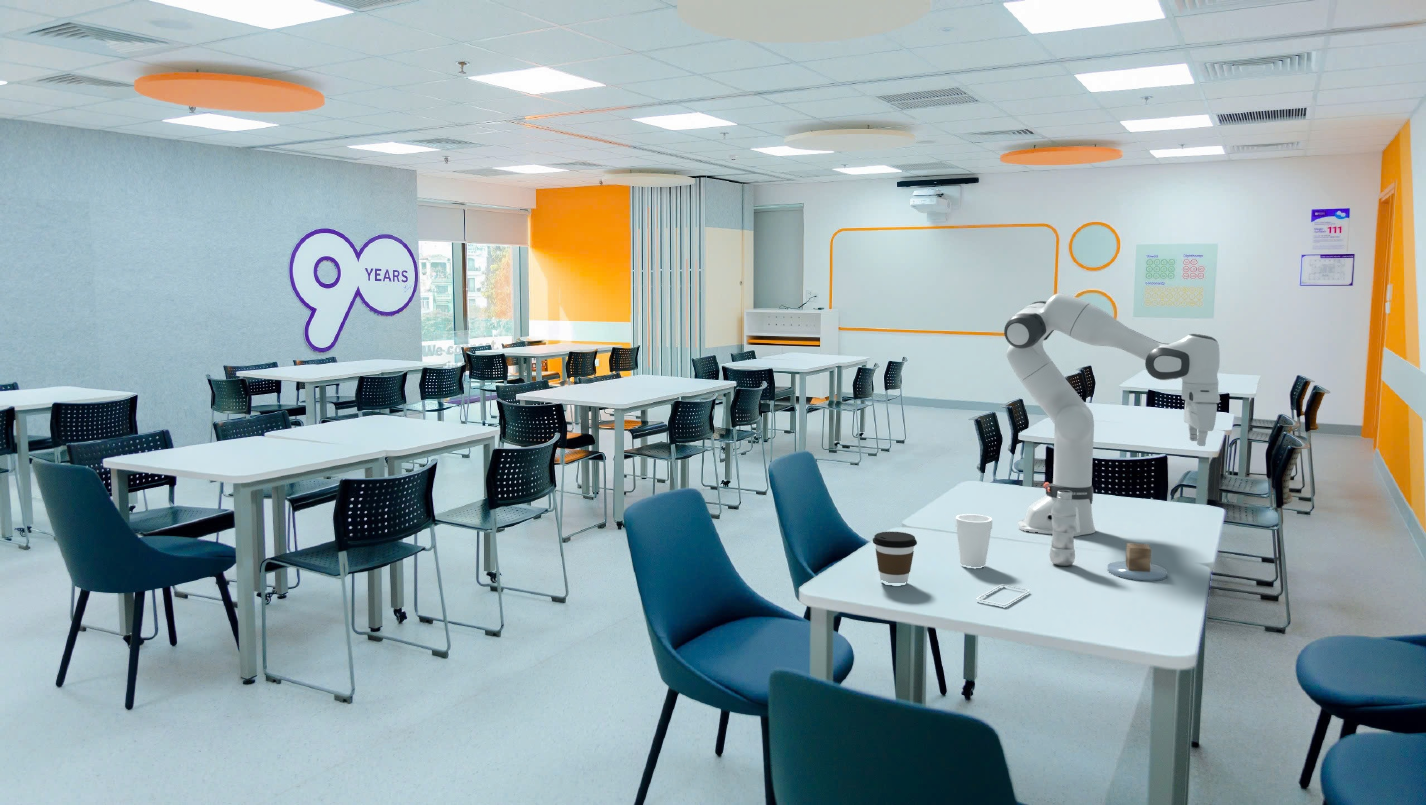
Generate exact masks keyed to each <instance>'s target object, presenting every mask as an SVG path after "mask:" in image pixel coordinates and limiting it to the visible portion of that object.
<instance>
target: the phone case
mask: <svg viewBox="0 0 1426 805" xmlns="http://www.w3.org/2000/svg"><path fill="white" fill-rule="evenodd" d="M1000 586H1008V587H1007V588H1012V589H1016V590H1021V591H1024V592H1023V593H1021V594H1020V595H1018V596H1016V597H1015V598H1012V599H1011V600H1009V601H1008V602H1006V603H999V602H994V601H989V600H986V599H985V600H984V599H981V597H982V598H984V597H985V596H986V594H988V593H990V592H992V591H993V590H995V589H997V588H999V587H1000ZM1025 590H1026V591H1027V592H1025ZM1029 592H1030V589H1027V588H1021V587H1016V586H1012V585H1007V584H999V585H998V586H996V587H994V588H993V589H991V590H989V591H987V592H985V593H983V594H981V595H980V596H978V597H976V598H975V600H981V601H983V602H988V603H994V604H998V605H1002V606H1006V605H1008V604H1010V603H1012V602H1014V601H1015V600H1017V599H1019V598H1021V597H1022V596H1024V595H1025V594H1027V593H1029ZM1030 593H1031V592H1030ZM984 595H985V596H984ZM979 598H980V599H979Z"/></svg>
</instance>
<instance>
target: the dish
mask: <svg viewBox="0 0 1426 805" xmlns="http://www.w3.org/2000/svg"><path fill="white" fill-rule="evenodd" d="M1108 571H1109V572H1108ZM1107 572H1108V573H1109V574H1110V573H1111V574H1110V575H1112V574H1113V576H1115V575H1116V576H1115V577H1117V576H1120V577H1119V578H1121V577H1122V578H1121V579H1125V578H1128V579H1127V580H1131V579H1133V580H1132V581H1138V580H1143V581H1142V582H1157V581H1156V580H1158V581H1163V580H1166V579H1167V577H1168V571H1167V569H1165V568H1164V567H1162V566H1160V565H1156V564H1152V563H1150V572H1144V571H1129V570H1128V568H1127V566H1126V560H1123V561H1122V560H1121V561H1120V560H1119V561H1113V562H1109V563H1108V564H1107Z"/></svg>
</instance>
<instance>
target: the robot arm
mask: <svg viewBox="0 0 1426 805" xmlns="http://www.w3.org/2000/svg"><path fill="white" fill-rule="evenodd" d="M1054 331H1058V332H1060V333H1062V334H1065V335H1066V336H1068V337H1069V338H1072V339H1074V340H1076V341H1079V342H1081V343H1084V344H1088V345H1090V346H1096V347H1111V348H1117V349H1119V350H1122V351H1123V352H1124V351H1125V352H1127V353H1129V354H1130V355H1133V356H1135V357H1137V358H1139V359H1142V360H1144V361H1145V362H1144V363H1145V366H1144V367H1145V369H1146V372H1147V374H1149V375H1150V376H1151V377H1152V378H1154V379H1156V380H1160V381H1171V380H1177V379H1181V380H1182V381H1181V382H1182V383H1181V399H1182V400H1184V411H1183V421H1184V423H1185V424H1187V425H1188V432H1189V433H1188V434H1189V437H1188V439H1189V441H1191V442H1196V444H1197V446H1199V447H1205V446H1206V440H1207V438H1208V437H1207V436H1208V433H1209V432H1212V431H1214V429H1215V426H1216V418H1217V411H1218V410H1217V409H1218V404H1220V402H1221V400H1220V399H1221V397H1220V394H1219V378H1218V372H1219V370H1220V360H1221V359H1220V345H1219V343H1218V340H1217V339H1215V338H1214V337H1213V336H1209V335H1204V334H1197V333H1189V334H1187V335H1186V336H1184V337H1183V338H1181V339H1179V340H1177V341H1174V342H1172V343H1166V342H1165V343H1164V342H1160V341H1157V340H1155V339H1152V337H1148V336H1147V335H1144V334H1143V333H1140V332H1137V331H1135V330H1134V329H1132V328H1130V327H1128V326H1127V325H1125V324H1124V323H1122V322H1120V321H1119V320H1117V319H1116V318H1115V317H1113V316H1112V315H1110V314H1109V313H1107V312H1106V311H1105V310H1103V309H1101V308H1100V307H1098V306H1096V305H1094V304H1093V303H1091V302H1089V301H1086V300H1084V299H1081V298H1079V297H1077V296H1073V295H1070V294H1068V293H1067V294H1066V293H1061V292H1059V293H1058V292H1057V293H1055V294H1053V295H1052V296H1051V297H1049V298H1048V299H1047V301H1045V300H1040V301H1038V300H1037V301H1034V302H1032V303H1030V304H1029V305H1026V306H1024V307H1023V308H1021V309H1020V310H1019V311H1018V312H1017V313H1016V314H1014V315H1012V316H1011V317H1010V318H1009V319H1008V320H1007V322H1006V323H1005V325H1004V330H1003V334H1004V337H1005V340H1006V342H1007V343H1008V344H1009V346H1008V348H1007V349H1006V355H1005V356H1006V358H1007V361H1008V363H1009V365H1010V367H1011V368H1012V370H1013V372H1014V373H1015V375H1016V376H1017V378H1018V379H1019V381H1020V382H1021V384H1022V385H1023V386H1024V388H1025V389H1026V390H1027V392H1028V393H1029V395H1030V396H1031V397H1032V398H1033V399H1034V401H1035V402H1036V403H1037V405H1038V406H1039V407H1040V409H1041V410H1043V412H1044V413H1045V414H1046V415H1047V416H1048V417H1049V419H1050V420H1051V421H1052V423H1053V424H1054V440H1053V441H1054V443H1053V444H1054V445H1053V476H1052V477H1053V478H1052V483H1049V482H1048V481H1047V482H1044V483H1043V488H1044V489H1045V495H1044V496H1041V497H1040V498H1039V499H1037V500H1036V501H1034V502H1032V503H1031V504H1030V505H1029V506H1028V508H1027V510H1026V513H1025V518H1024V519H1023V518H1022V519H1020V520H1019V521H1018V522H1017V526H1019V527H1018V529H1019V530H1021V531H1023V530H1024V531H1023V532H1026V531H1029V532H1028V533H1035V532H1038V533H1037V534H1046V535H1053V523H1052V514H1051V510H1052V507H1053V505H1054V504H1055V503H1056V501H1057V500H1058V498H1057V492H1058V490H1067V491H1071V492H1072V499H1071V502H1072V503H1073V505H1074V506H1075V508H1076V511H1077V513H1076V519H1075V525H1074V531H1073V532H1074V535H1073V537H1079V536H1083V535H1090V534H1094V533H1095V532H1096V528H1095V525H1094V524H1095V523H1094V518H1093V511H1092V510H1093V508H1092V504H1093V501H1094V487H1093V485H1092V478H1093V458H1094V457H1093V456H1094V455H1093V454H1094V438H1095V437H1094V433H1095V420H1094V414H1093V413H1092V410H1091V409H1090V408H1089V407H1088V406H1087V404H1086V402H1085V401H1084V400H1083V399H1082V397H1081V396H1080V395H1079V394H1078V392H1077V391H1076V390H1075V388H1073V386H1072V385H1071V384H1070V382H1068V380H1067V379H1066V377H1065V376H1064V374H1062V372H1061V371H1060V370H1059V368H1058V367H1057V365H1056V364H1055V363H1054V362H1053V360H1052V358H1050V356H1049V355H1048V354H1047V352H1046V351H1045V349H1044V346H1043V345H1044V343H1043V342H1044V341H1046V340H1048V339H1049V337H1050V336H1051V335H1052V333H1054Z"/></svg>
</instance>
